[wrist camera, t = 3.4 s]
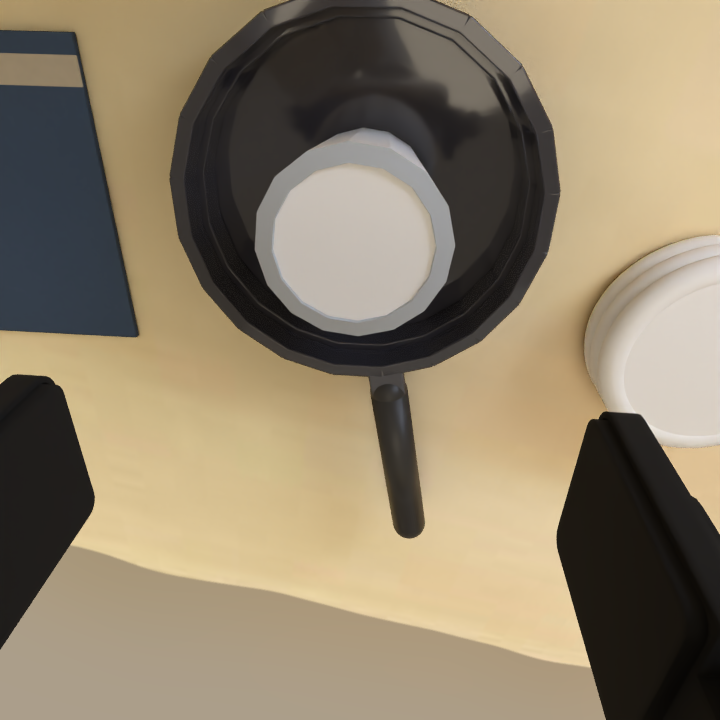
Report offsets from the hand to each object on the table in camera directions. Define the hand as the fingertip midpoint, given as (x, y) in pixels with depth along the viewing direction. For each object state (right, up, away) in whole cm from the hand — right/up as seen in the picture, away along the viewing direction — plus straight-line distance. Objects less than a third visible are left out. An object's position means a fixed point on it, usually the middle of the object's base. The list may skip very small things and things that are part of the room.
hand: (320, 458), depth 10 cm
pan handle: (+3, -3, +20) cm, 20 cm away
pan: (+1, +9, +15) cm, 18 cm away
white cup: (+1, +9, +15) cm, 18 cm away
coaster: (+17, +3, +17) cm, 25 cm away
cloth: (-18, +10, +16) cm, 26 cm away
